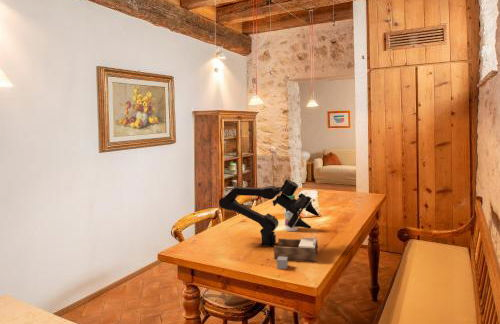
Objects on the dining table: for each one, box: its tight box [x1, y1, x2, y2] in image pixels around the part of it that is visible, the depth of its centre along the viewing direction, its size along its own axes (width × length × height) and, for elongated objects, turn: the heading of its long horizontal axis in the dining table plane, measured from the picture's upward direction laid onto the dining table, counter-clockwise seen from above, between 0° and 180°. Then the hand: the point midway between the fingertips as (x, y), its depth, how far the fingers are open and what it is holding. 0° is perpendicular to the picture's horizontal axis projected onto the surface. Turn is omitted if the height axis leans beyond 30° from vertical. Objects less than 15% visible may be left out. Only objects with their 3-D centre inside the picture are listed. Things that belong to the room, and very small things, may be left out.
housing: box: [273, 238, 319, 263], centre depth 172 cm, size 18×12×6 cm, turn 75°
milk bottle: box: [284, 194, 300, 232], centre depth 210 cm, size 8×8×20 cm
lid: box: [299, 236, 318, 248], centre depth 170 cm, size 7×12×2 cm, turn 165°
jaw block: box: [276, 256, 289, 270], centre depth 159 cm, size 4×4×4 cm
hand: (314, 221), depth 179 cm, fingers open, 9 cm apart
